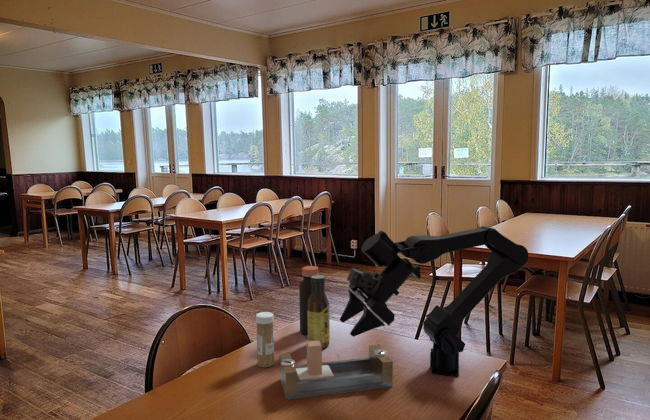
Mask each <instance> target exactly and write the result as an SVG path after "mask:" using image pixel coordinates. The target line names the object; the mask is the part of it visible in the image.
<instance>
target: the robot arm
mask: <svg viewBox="0 0 650 420" xmlns="http://www.w3.org/2000/svg"><path fill="white" fill-rule="evenodd" d="M480 246H485V248H487V249H488V250H489V251H490V253H489V256H488V259H487V262H486V264H485V266H484V267H483V268H482V269H481V270H480V272H478V274H477V275H475V277H474V278H472V280H470V282H469V283H468V284H467V285H466V286H465V287H464V288H463V289H462V291H460V292H459V294H457V296H456V297H455V298H454V299H453V300H452V301H451V302H450V303H449V304H448V305H446V306H443V307H441V306H439V305H438V304H436V305H435V306H434V307H433V308H432V310H431V311H430V312H429V313H428V314H426V315H425V317H426V318H425V319H424V321H423V323H422V324H423V325H422V326H423V327H422V329H423V331H424V333H425V335H426V336H427V337H428V339H429V340H430V341H431V342H432V343H433V344H432V345H433V346H432V348H430V354H429V355H430V356H429V359H430V360H429V362H430V363H429V367H430V369H431V374H434V375H442V376H449V377H450V376H453V377H460V359H459V358H460V353H463V352H464V350H465V346H466V343H465V342H464V341H463V340H462V339H461V338H460V337H458V335H459V334H460V332H461V330H462V327H463V324H464V323H463V322H464V320H465V318H467V316H468V315H469V314H470V313H471V312H472V311H473V310H474V309H475V307H477V306H478V304H480V303H481V301H482V300H483V299H484V298H485V297H486V296H487V295H488V294H489V293H490V292H491V290H493V289H494V288H495V287H496V286H497V284H498V283H500V281H501V280H502V279H503V278H505V277H507V276H510V275H513V274H515V273H517V272H518V271H519V270H521V269H522V268H523V267H524V266H526V264H527V263H528V262H529V259H530V258H529V251H528V248H527V247H526V246H524V245H522V244H519V243H515V242H514V241H512V240H511V239H509V238H508V237H506V236H505V235H503V234H501V233H500V232H499V231H498V230H497V229H496V228H493V227H490V226H487V225H483V226H480V227H476V228H472V229H468V230H463V231H462V230H461V231H458V232H453V233H452V232H451V233H448V234H442V235H425V234H424V235H423V234H421V235H418V234H417V235H411V236H408V237H407V238H406V239H405V240H402V241H396V242H394V241H393V240H392V239H391V238H390V237H389V235H388V234H387V233H386V232H385V231H384V230H382V229H381V230H379V231H378V232H377V233H375V234H373V235H372V236H371V237H368V238H367V239H366V240H365V241H364V243H363V244H362V246H361V248H360V249H361V252H362V253H364V255H366V256H367V257H368V259H369V260H371V261H372V262H373V264H375V265H376V266H377V267H378V268H381V267H384V268H382V270H381V271H380V272H377V271H376V272H374V273H373V274H372V273H370V272H367V271H361V270H358V269H356V268H353V267H351V269H350V271H349V273H348V276H347V278H346V281H347V282H349V285H348V287H349V289H348V295H349V297H348V298H349V299H348V302H347V304H346V306H345V308H344V310H343V312H342V313H341V316H340V318H339V321H340V322H341V323H345V322H347V321H349V320H350V319H352V318H354V317H355V316H357V315H359V314H360V313H361V312H363V314H362V315H361V317H360V318H359V319H358V321H357V322H356V324H355V325H354V326H353V328H352V329H351V331H350V332H349V334H350V335H351V336H352V337H353V338H354V337H357V336H358V335H359V336H360V335H361V334H363V333H366V332H369V331H371V330H375V329H377V328H380V327H385V326H386V325H387V326H388V327H390V325H391V324H392V323H393V322H394V321H395V317H396V316H395V313H394V312H393V311H392V310H390V308H389V307H388V304H387V302H388V301H389V300H390V299H391V298H392V297H393V296H394V295H395V296H398V295H400V292H399V289H400V288H401V287H402V286H403V285H404V284H405V282H406V281H408V279H409V278H410V277H411V276H413V277H416V278H417V279H421V278H422V276H421V275H422V274H421V266H419V265H417V264H413V263H412V261H414V262H415V263H418V264H421V265H423V264H427V263H429V262H432V261H435V260H438V258H440V257H441V256H443V255H444V254H448V253H452V252H456V251H461V250H466V249H470V248H476V247H480ZM399 255H401V256H404V257H403V258H402V257H400V256H399ZM409 259H410V260H412V261H410V260H409Z"/></svg>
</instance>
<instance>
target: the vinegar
mask: <svg viewBox="0 0 650 420" xmlns="http://www.w3.org/2000/svg"><path fill="white" fill-rule="evenodd" d="M301 274H302V276H301V277H302V278H303V279H302V280H301V281H300V283H299V285H298V291H299V292H298V293H299V296H298V297H299V298H298V299H299V332H300V334H301V335H303V336H306V337H308V319H307V310H308V298H309V296H310V295H311V293H312V292H311V290H312V285H311V276H315V275H319V266H314V265H306V266H304V267H303V266H302V268H301Z"/></svg>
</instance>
